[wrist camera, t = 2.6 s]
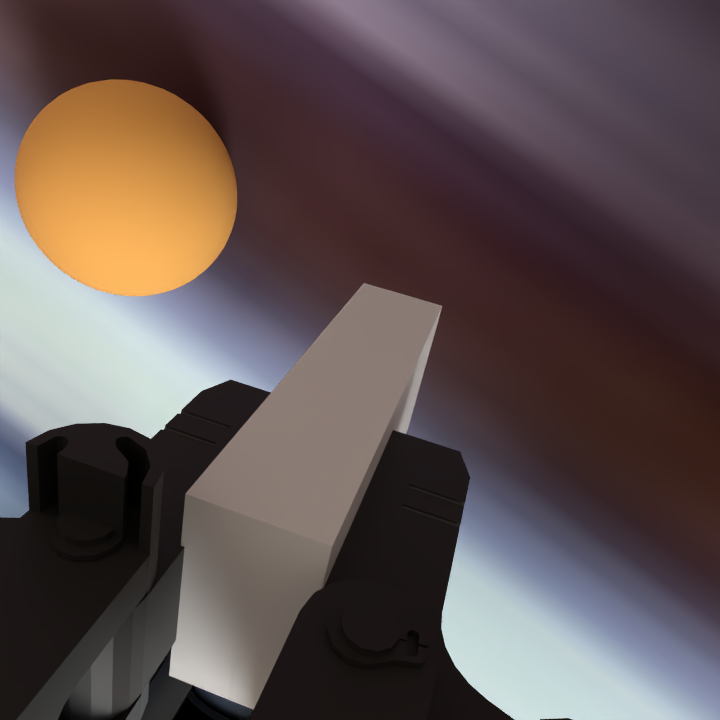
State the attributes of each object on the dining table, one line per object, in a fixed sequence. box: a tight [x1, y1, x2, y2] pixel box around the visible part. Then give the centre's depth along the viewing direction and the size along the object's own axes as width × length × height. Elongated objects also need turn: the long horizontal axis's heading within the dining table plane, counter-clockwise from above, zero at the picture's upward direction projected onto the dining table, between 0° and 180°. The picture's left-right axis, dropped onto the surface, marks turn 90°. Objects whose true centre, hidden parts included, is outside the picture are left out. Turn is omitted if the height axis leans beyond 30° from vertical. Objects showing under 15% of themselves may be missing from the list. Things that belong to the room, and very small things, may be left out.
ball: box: [15, 79, 237, 296], centre depth 19 cm, size 6×6×6 cm
